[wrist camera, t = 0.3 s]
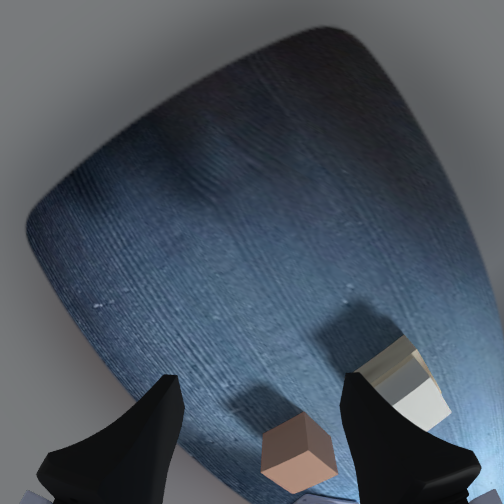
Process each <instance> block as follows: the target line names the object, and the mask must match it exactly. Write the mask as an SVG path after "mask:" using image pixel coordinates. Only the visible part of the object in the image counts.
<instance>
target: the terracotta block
mask: <svg viewBox="0 0 504 504" xmlns="http://www.w3.org/2000/svg"><path fill="white" fill-rule="evenodd" d="M261 473H262V474H264V475H265V476H266V477H268V478H269V479H271V480H272V481H274V482H275V483H277V484H278V485H280V486H281V487H283V488H284V489H286V490H287V491H289V492H290V493H292V494H295V493H297V492H300V491H302V490H305V489H307V488H310V487H312V486H314V485H316V484H319V483H321V482H323V481H325V480H327V479H330V478H332V477H334V476H336V475H338V470H337V465H336V460H335V455H334V450H333V445H332V440H331V437H330V436H329V435H328V434H327V433H326V432H325V431H324V430H323V429H322V428H321V427H320V426H319V425H318V424H317V423H316V422H315V421H314V420H313V419H311V418H310V417H309V416H308V415H307V414H306V413H305V412H302V413H300V414H298V415H297V416H295V417H293V418H291V419H290V420H288V421H286V422H284V423H282V424H280V425H279V426H277V427H275V428H273V429H271V430H269V431H267V432H265V433H263V441H262V457H261Z"/></svg>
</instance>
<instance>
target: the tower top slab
mask: <svg viewBox="0 0 504 504" xmlns="http://www.w3.org/2000/svg"><path fill="white" fill-rule="evenodd" d="M374 388H375V390H376V391H377V392H378V393H379V394H380V395H381V396H382V397H383V398H384V399H385V400H386V401H387V402H388V403H389V404H390V405H391V406H393V407H394V408H395V409H396V410H397V411H398V412H399V413H401V414H402V415H403V416H404V417H405V418H407V419H408V420H410V421H411V422H412V423H414V424H415V425H417V426H418V427H420V428H421V429H423V430H425V431H426V432H427V431H428V430H430V429H431V428H432V427H434V426H435V425H436V424H438V423H439V422H440V421H442V420H443V419H444V418H445V417H447V416H448V415H449V414H450V413H452V412H451V410H450V409H449V407H448V405H447V404H446V402H445V400H444V399H443V397H442V395H441V394H440V392H439V390H438V389H437V387H436V385H435V384H434V382H433V381H432V379H431V377H430V376H429V375H428V374H427V372H426V371H425V370H424V368H423V367H422V366H421V365H420V363H419V362H418V361H417V360H416V358H415V357H414V358H412V359H411V360H410V361H409V362H407V363H406V364H405V365H404V366H402V367H401V368H400V369H398V370H397V371H396V372H395V373H393V374H392V375H391V376H389V377H388V378H387V379H385V380H384V381H382V382H381V383H380V384H378V385H377V386H376V387H374Z"/></svg>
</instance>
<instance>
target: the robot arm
mask: <svg viewBox="0 0 504 504" xmlns="http://www.w3.org/2000/svg"><path fill="white" fill-rule="evenodd" d="M184 409H185V406H184V402H183V398H182V393H181V389H180V385H179V380H178V376H177V375H167V374H164V375H163V376H162V377H161V378H160V379H159V380H158V381H157V382H156V383H155V384H154V385H153V386H152V388H151V389H150V390H149V391H148V392H147V393H146V394H145V395H144V396H143V397H142V398H141V399H140V400H139V401H138V402H137V403H136V404H135V405H134V406H132V407H131V408H130V409H129V410H128V411H127V412H126V413H125V414H123V415H122V416H121V417H120V418H118V419H117V420H116V421H115V422H113V423H112V424H110V425H109V426H107V427H106V428H104V429H103V430H101V431H100V432H98V433H96V434H94V435H92V436H90V437H89V438H87V439H85V440H83V441H80V442H78V443H76V444H73V445H71V446H68V447H66V448H63V449H60V450H56V451H53V452H50V453H48V455H47V456H46V458H45V459H44V461H43V463H42V464H41V466H40V468H39V470H38V472H37V474H36V475H37V478H38V480H39V481H40V483H41V484H42V485H43V486H44V487H45V488H46V489H47V490H48V491H49V492H50V494H51V495H53V496H54V498H55V500H54V502H53V503H52V502H50V501H49V500H47V499H45V498H43V497H41V496H39V495H37V494H35V493H33V492H31V491H29V490H26V492H25V494H24V496H23V498H22V500H21V502H20V504H162V503H163V496H164V489H165V483H166V478H167V472H168V468H169V465H170V461H171V458H172V455H173V452H174V449H175V446H176V443H177V440H178V436H179V433H180V430H181V427H182V421H183V415H184ZM340 412H341V419H342V425H343V428H344V432H345V435H346V438H347V442H348V445H349V448H350V452H351V455H352V458H353V462H354V466H355V470H356V476H357V482H358V489H359V498H360V504H502V502H501V499H500V497H499V495H498V493H497V491H496V489H493V490H491V491H489V492H487V493H485V494H483V495H481V496H479V497H477V498H475V499H473V500H472V501H470V502H469V503H468V501H467V497H468V496H469V493H468V490H467V488H468V487H469V486H470V484H471V483H472V482H473V481H474V480H475V479H476V478H477V476H478V475H479V473H480V471H481V465H480V463H479V461H478V459H477V457H476V456H475V454H474V452H473V451H471V450H468V449H465V448H462V447H459V446H456V445H453V444H451V443H448V442H446V441H444V440H442V439H439V438H437V437H435V436H433V435H432V434H430V433H428V432H426V431H425V430H423V429H421V428H420V427H418V426H417V425H415V424H414V423H412V422H411V421H410V420H408V419H407V418H405V417H404V416H403V415H402V414H401V413H399V412H398V411H397V410H396V409H395V408H394V407H393V406H391V405H390V404H389V403H388V402H387V401H386V400H385V399H384V398H383V397H382V396H381V395H380V394H379V393H378V392H377V391H376V390H375V388H374V387H373V386H372V385H371V384H370V383H369V382H368V381H367V380H366V379H365V377H364V376H363V375H362V374H361V373H360V372H353V373H346V375H345V380H344V386H343V391H342V396H341V401H340ZM293 504H359V503H358V502H353V501H346V500H339V499H333V498H327V497H321V496H316V495H311V494H305V495H303V496H302V497H301V498H299V499H298V500H297V501H296V502H294V503H293Z"/></svg>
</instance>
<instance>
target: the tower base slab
mask: <svg viewBox="0 0 504 504" xmlns="http://www.w3.org/2000/svg"><path fill="white" fill-rule="evenodd" d="M414 357H415V358H416V360H417V361H418V362H419V363H420V365H421V366H422V367H423V368H424V370H425V371H426V372H427V374H428V375H429V376H430V377H431V379H432V381H433V382H434V384H435V385H436V387H437V389H438V390H439V392H440V394H441V393H442V392H441V390H440V388H439V387H438V385H437V383H436V381H435V379H434V378H433V376H432V374H431V372H430V371H429V369H428V367H427V365H426V364H425V362H424V360H423V359H422V357H421V355H420V354H419V352H418V350H417V349H416V348H415V346H414V345H413V344H412V343H411V342H410V341H409V340H408V338H407V337H406V336H405V335H403V336H401V337H400V338H399V339H398V340H396V341H395V342H394V343H392V344H391V345H390V346H388V347H387V348H386V349H384V350H383V351H382V352H380V353H379V354H378V355H376V356H375V357H374V358H372V359H371V360H370V361H368V362H367V363H365V364H364V365H363V366H361V367H360V368H358V369H357V370H355V371H354V372H360V373H361V374H362V375H363V376H364V377H365V379H366V380H367V381H368V382H369V383H370V384H371V385H372V386H373V387H376V386H377V385H378V384H380V383H381V382H382V381H384V380H385V379H387V378H388V377H389V376H391V375H392V374H393V373H395V372H396V371H397V370H398V369H400V368H401V367H402V366H404V365H405V364H406V363H407V362H409V361H410V360H411V359H412V358H414ZM352 373H353V372H352Z"/></svg>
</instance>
